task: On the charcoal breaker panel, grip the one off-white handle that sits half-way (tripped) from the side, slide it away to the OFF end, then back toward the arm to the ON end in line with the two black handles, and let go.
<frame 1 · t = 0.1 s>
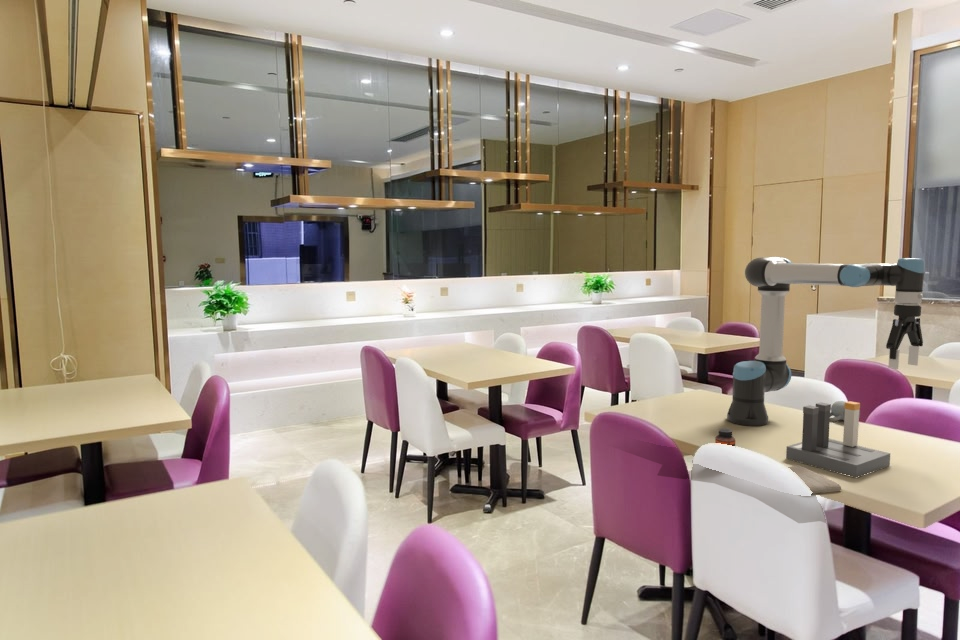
hand: (903, 366, 214), 28 cm above the table, tool pointing down, fingers open, 13 cm apart
ceramic mug: (841, 421, 252), on the table
panel: (836, 462, 202), on the table
supplement bottle: (724, 465, 200), on the table
tripped handle: (851, 423, 205), point 11 cm above the table, slide at 0.0 cm
washcloth: (802, 484, 185), on the table
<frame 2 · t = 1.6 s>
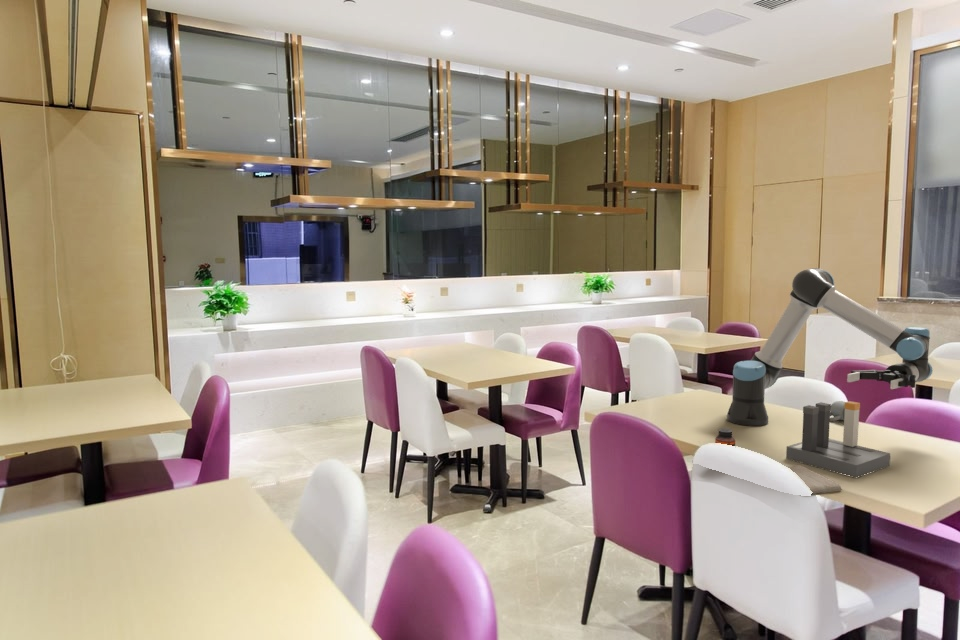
hand: (869, 381, 209), 24 cm above the table, tool horizontal, fingers open, 13 cm apart
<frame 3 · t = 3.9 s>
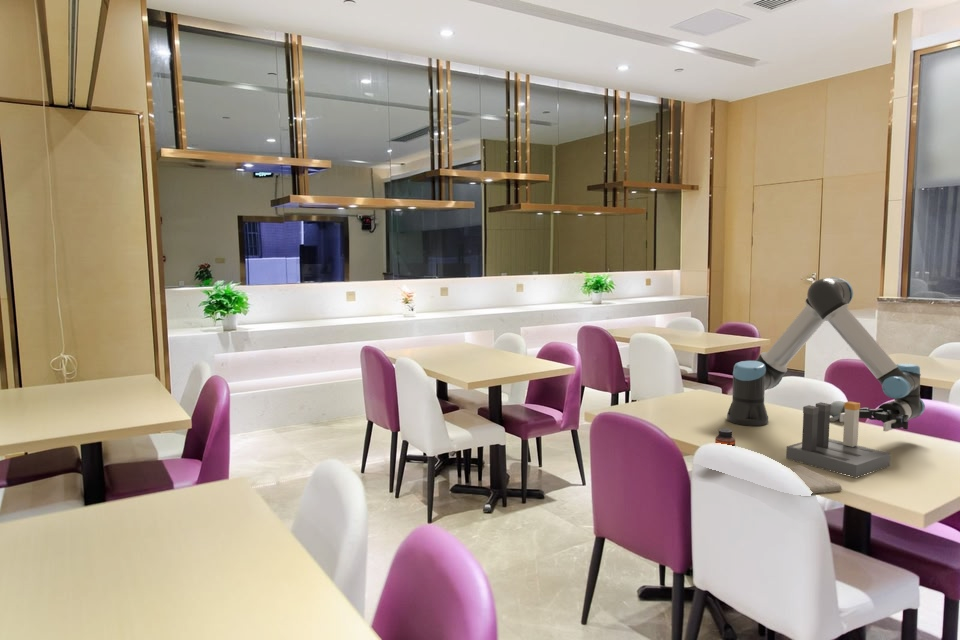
hand: (862, 422, 207), 11 cm above the table, tool horizontal, fingers open, 13 cm apart
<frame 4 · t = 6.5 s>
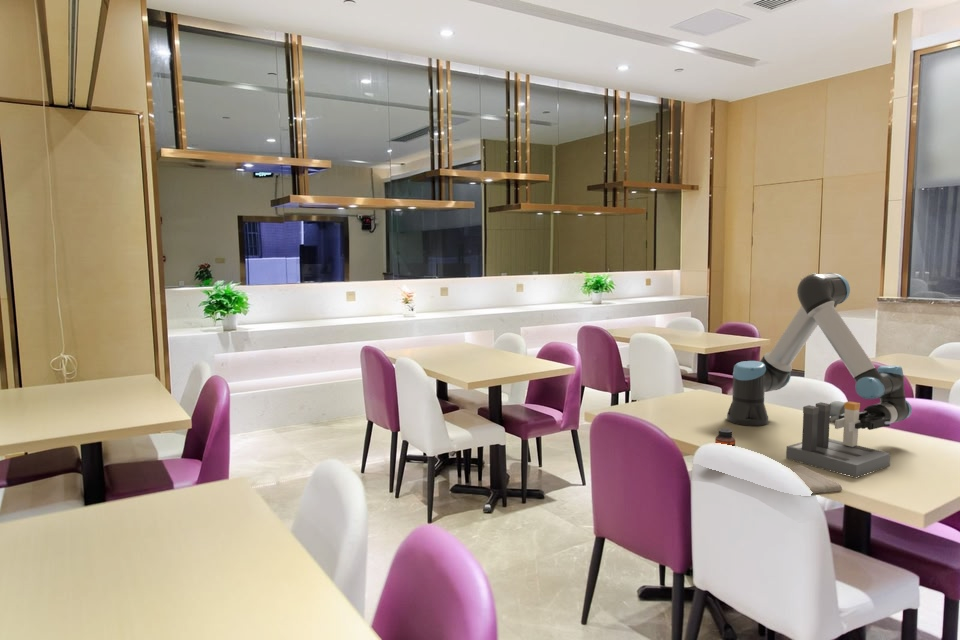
hand: (842, 426, 202), 11 cm above the table, tool horizontal, fingers closed on tripped handle, 3 cm apart
tripped handle: (851, 423, 205), point 11 cm above the table, slide at 0.0 cm, touching gripper
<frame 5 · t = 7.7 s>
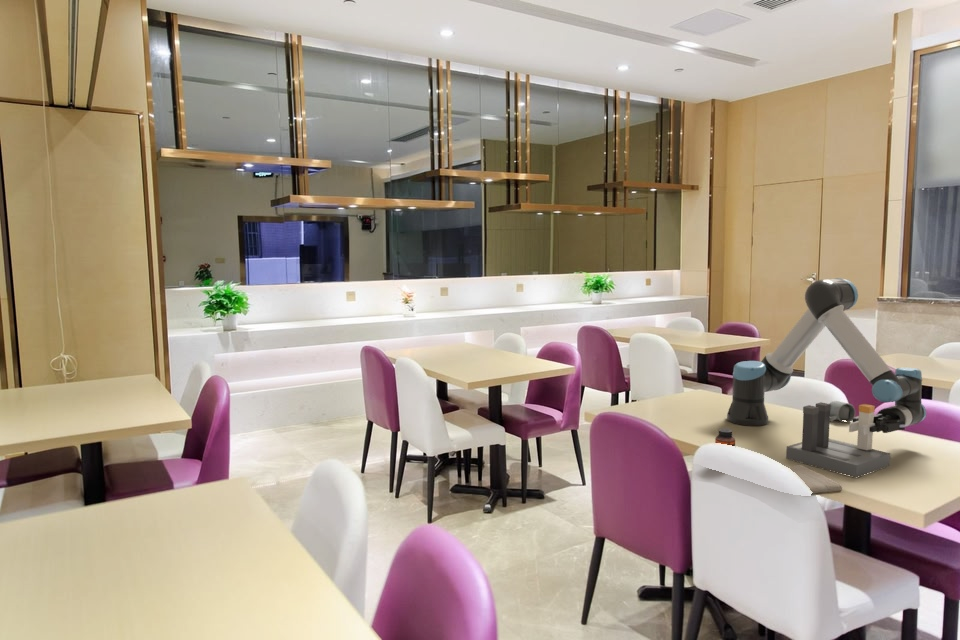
hand: (856, 429, 198), 12 cm above the table, tool horizontal, fingers closed on tripped handle, 3 cm apart
tripped handle: (865, 427, 201), point 11 cm above the table, slide at 4.5 cm, touching gripper
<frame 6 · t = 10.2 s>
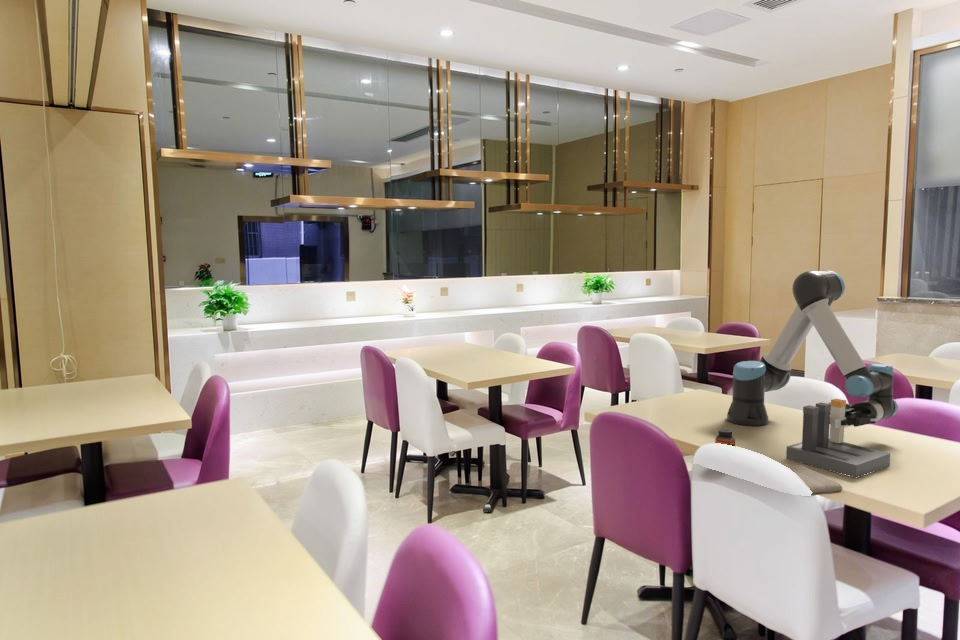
hand: (828, 422, 206), 12 cm above the table, tool horizontal, fingers closed on tripped handle, 3 cm apart
tripped handle: (837, 420, 209), point 11 cm above the table, slide at -4.4 cm, touching gripper
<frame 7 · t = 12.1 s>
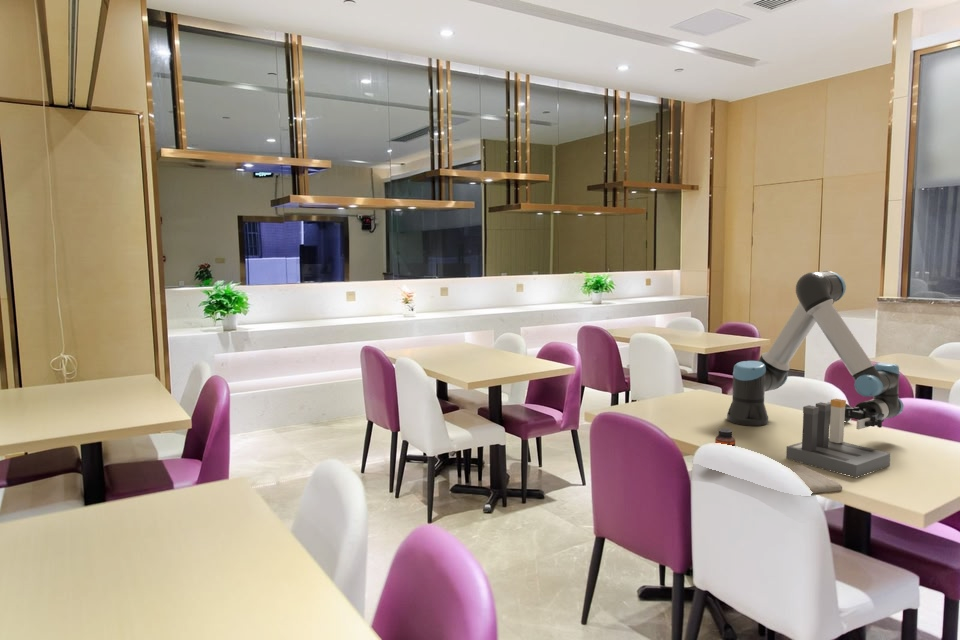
hand: (836, 420, 208), 12 cm above the table, tool horizontal, fingers open, 13 cm apart
tripped handle: (837, 420, 209), point 11 cm above the table, slide at -4.5 cm
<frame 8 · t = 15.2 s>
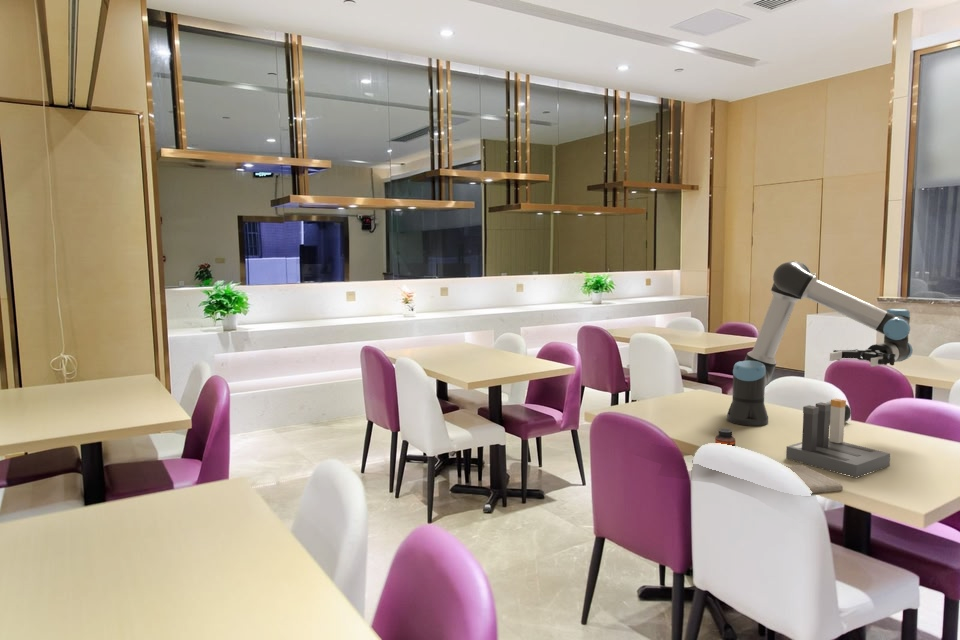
hand: (850, 359, 217), 30 cm above the table, tool horizontal, fingers open, 13 cm apart
at the end: tripped handle slide at -4.5 cm; the gripper is holding nothing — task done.
